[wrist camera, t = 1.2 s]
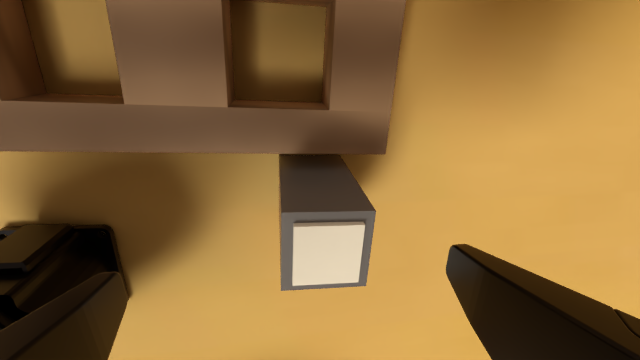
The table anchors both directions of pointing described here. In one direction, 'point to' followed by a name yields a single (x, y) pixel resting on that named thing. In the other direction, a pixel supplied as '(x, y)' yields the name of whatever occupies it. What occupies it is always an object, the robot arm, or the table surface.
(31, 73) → the socket board
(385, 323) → the table surface
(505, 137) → the table surface
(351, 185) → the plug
